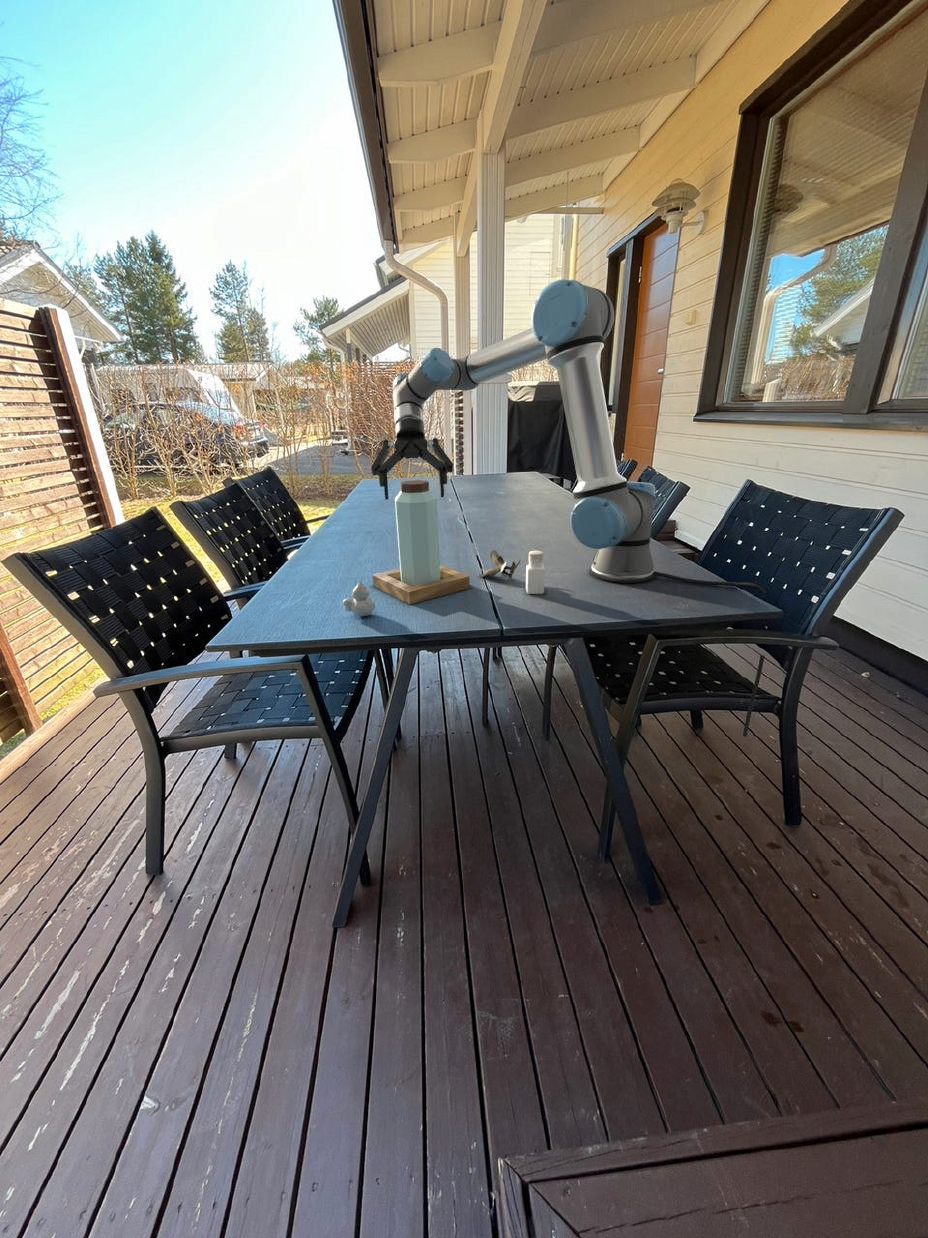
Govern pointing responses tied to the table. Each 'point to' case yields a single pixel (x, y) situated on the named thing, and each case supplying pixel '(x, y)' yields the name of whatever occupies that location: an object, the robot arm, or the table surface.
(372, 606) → the white rounded figurine
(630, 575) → the robot arm
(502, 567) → the eagle figurine
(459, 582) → the frame
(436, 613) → the table surface
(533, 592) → the pepper shaker
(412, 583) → the water bottle
